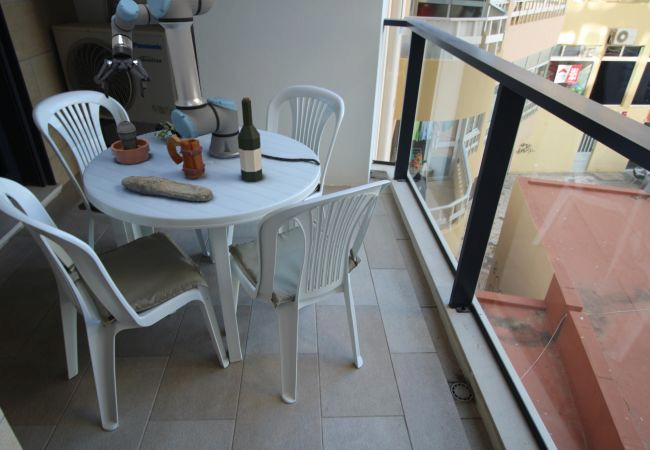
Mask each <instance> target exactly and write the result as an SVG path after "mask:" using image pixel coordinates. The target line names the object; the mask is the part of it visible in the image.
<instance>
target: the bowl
mask: <svg viewBox="0 0 650 450" xmlns="http://www.w3.org/2000/svg"><path fill="white" fill-rule="evenodd" d="M137 144H138V148H137V149H132V150H124V148H123V145H122V143H121V140H117V141H115V142H113V143H111V144H110V145H111V146H110V150H111V153H112V156H114V157H115V159H116V162H118V163H119V164H121V165H122V164H124V165H135V164H140V163H142V162H145V161H147V160H148V159H150V151H151V147H150V142H149V140H147V139H144V138H138V137H137Z"/></svg>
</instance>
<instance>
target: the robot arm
mask: <svg viewBox="0 0 650 450" xmlns="http://www.w3.org/2000/svg"><path fill="white" fill-rule="evenodd" d="M146 2H147V3H136V1H134V0H119V2H118V3H117V6H116V10H115V14H113V15H112V16H111V22H110V26H111V46H112V60H108V59H107V58H104V60H103V64H102V66H101V68H100V70H99V72H98V73H97V75H96V77H95V79H96V80H97V82H98V83H101V89H102V91H104V93H103V95H104V97H105V98H106V99H109V98H110V95H109V94H110V93H109V83H108V82H109V81H110V80H111V79H112V78H113V77H114V76H115V75H116V74H118V73H119V72H120V73H121V72H126V73H129V72H131V73H132V74H133V75H135V77H137V78H138V79H139V83H140V84H139V89H140V95H141V98H145V90H147V83H148V82H151V81H152V80H151V77H150V75H149V74H148V72H147V70H146V69H145V67H144V66H143V65H142V61H141V59H140V58H137V59H136V60H134V55H133V54H134V51H133V36H132V35H133V31H134V28H135V27H136V26H144V25H145V26H146V25H160V26H161V27H162V28H163V29H164V33H165V38H166V43H167V48H168V53H169V59H170V64H171V69H172V74H173V78H174V84H175V89H176V93H177V100H176V101H175V102H174V105H175V109H174V110H172V111H171V115H170V117H171V123H172V124H173V125H174V127H175V129H176V130H177V131H178V133H179V134H180V135H181V136H182V137H183V139H189V138H195V139H199V137H203V136H207V135H210V134H211V137H210V141H209V142H210V143H209V147H208V152H209V155H210V156H212V157H214V158H218V159H233V158H238V157H240V156H239V145H238V135H239V132H240V127H239V125H240V124H239V115H238V111H239V110H238V105H237V101H236V100H234V99H233V98H230V97H223V96H210V97H207V99H205V98H204V97H202V91H201V86H200V79H199V73H198V68H197V61H196V55H195V48H194V43H193V37H192V30H191V27H192V25H193V24H194V22H195V21H194V17H196V16H203V15H207V14H208V13H209V12H210V11H211V9H212V8H213V5H214V0H146ZM135 65H136V66H137V67H138V68H139V70H140V71H141V73H142V74H141V73H140V72H139V71H138V70H137V69H136V68H135V67H134V66H135ZM261 157H262V158H268V159H273V160H279V161H287V162H300V161H301V162H302V161H303V162H314V163H315V164H316V165H318V166H320V165H321V163H320V162H319V161H318V160H317V159H316V158H304V157H303V158H302V157H301V158H300V157H299V158H289V157H288V158H287V157H280V156H279V157H278V156H273V155H268V154H264V153H261Z"/></svg>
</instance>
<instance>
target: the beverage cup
mask: <svg viewBox="0 0 650 450" xmlns="http://www.w3.org/2000/svg"><path fill="white" fill-rule="evenodd" d="M117 111H118V114H119V118H120V120H121V121H120V122H118V124H117V125H116V133H117V135H118V138H119V139H120V140H119V141H121V143H122V145H123V148H124V150H132V149H137V148H138V144H137V138H138V137H137V135H138V133H137V128H136V125H134V124H133V123H132V122H131V121H129V120H124V119H123V116H122V114H121V110H120V109H117Z"/></svg>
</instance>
